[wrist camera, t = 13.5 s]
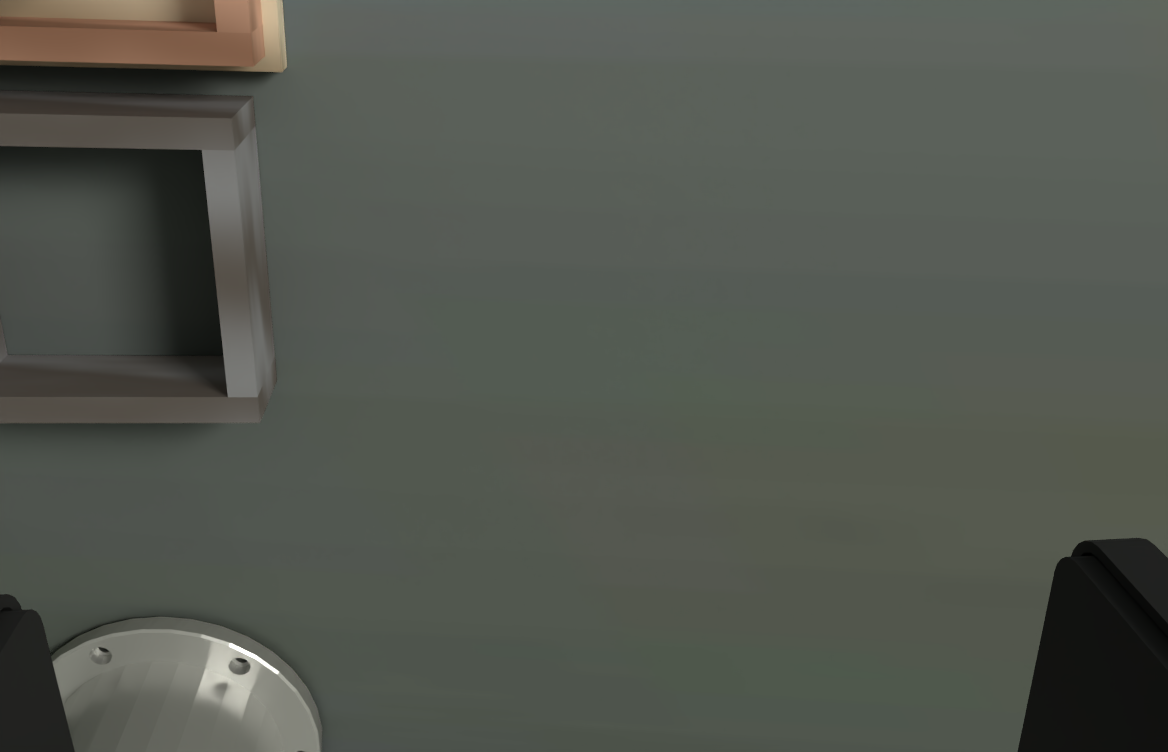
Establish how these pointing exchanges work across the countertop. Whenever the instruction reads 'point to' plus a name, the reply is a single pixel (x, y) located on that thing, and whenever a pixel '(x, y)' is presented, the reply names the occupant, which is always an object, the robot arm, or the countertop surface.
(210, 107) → the dock
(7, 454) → the countertop surface
